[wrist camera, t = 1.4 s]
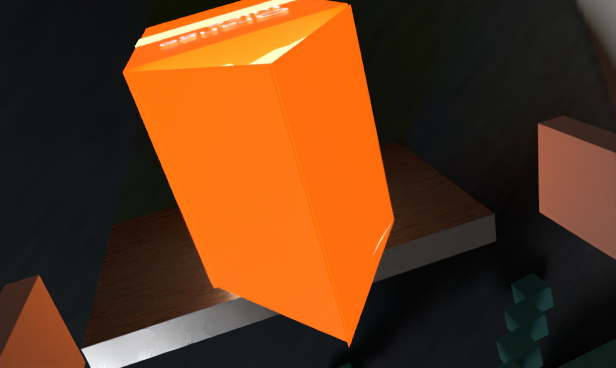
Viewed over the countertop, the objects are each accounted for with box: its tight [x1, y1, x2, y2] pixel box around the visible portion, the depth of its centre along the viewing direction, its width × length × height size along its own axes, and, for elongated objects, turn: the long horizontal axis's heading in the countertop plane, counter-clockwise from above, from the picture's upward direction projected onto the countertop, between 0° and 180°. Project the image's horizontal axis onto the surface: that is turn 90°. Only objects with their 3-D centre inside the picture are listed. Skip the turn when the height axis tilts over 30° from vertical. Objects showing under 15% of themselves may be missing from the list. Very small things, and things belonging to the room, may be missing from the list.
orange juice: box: [123, 0, 394, 346], centre depth 22 cm, size 8×9×20 cm
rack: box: [82, 142, 496, 368], centre depth 24 cm, size 24×20×12 cm
